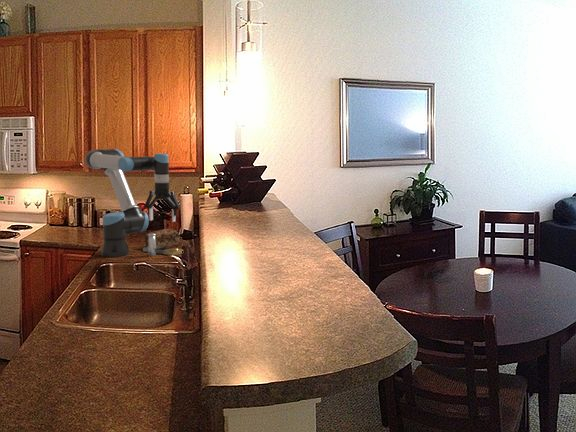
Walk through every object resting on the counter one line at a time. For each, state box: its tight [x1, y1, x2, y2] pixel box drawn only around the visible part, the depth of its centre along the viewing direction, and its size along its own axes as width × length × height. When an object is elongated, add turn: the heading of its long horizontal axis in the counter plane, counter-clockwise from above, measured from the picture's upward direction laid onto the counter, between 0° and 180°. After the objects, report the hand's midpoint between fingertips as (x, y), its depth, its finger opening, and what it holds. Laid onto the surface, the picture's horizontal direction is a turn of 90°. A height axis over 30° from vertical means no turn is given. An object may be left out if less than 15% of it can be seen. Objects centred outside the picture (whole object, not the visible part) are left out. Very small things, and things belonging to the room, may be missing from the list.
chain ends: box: [142, 246, 184, 256], centre depth 311 cm, size 24×8×3 cm, turn 57°
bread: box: [144, 228, 180, 248], centre depth 330 cm, size 19×11×10 cm, turn 141°
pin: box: [146, 232, 157, 257], centre depth 303 cm, size 5×5×12 cm
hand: (162, 220), depth 298 cm, fingers open, 13 cm apart
